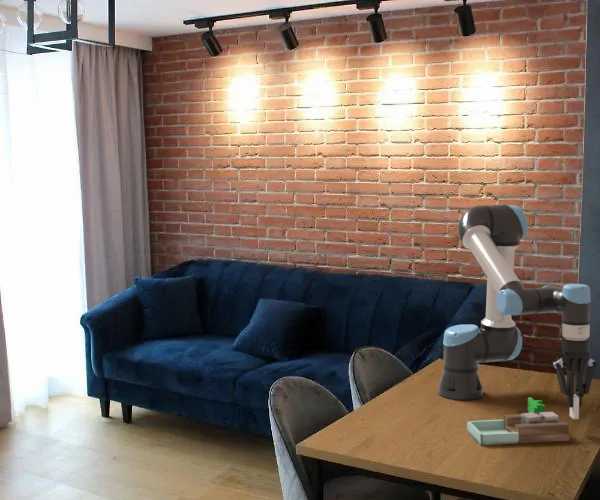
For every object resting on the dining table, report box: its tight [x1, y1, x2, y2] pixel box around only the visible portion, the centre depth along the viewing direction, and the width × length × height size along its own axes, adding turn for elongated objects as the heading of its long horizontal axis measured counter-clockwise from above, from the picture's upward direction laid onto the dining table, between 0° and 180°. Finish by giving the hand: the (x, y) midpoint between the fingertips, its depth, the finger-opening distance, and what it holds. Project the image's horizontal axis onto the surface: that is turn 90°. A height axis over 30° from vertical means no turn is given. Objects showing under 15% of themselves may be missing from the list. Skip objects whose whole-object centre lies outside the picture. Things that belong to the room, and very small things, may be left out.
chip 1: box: [520, 412, 541, 424], centre depth 226 cm, size 4×4×4 cm
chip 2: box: [539, 411, 559, 423], centre depth 226 cm, size 4×4×4 cm
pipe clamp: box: [527, 397, 546, 414], centre depth 243 cm, size 11×4×5 cm, turn 173°
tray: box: [466, 419, 519, 446], centre depth 225 cm, size 12×11×3 cm
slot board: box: [503, 413, 570, 444], centre depth 226 cm, size 12×15×4 cm
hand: (574, 417), depth 227 cm, fingers closed
